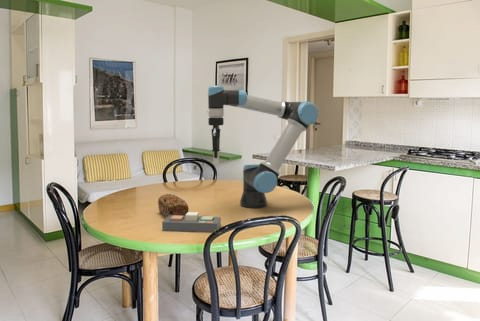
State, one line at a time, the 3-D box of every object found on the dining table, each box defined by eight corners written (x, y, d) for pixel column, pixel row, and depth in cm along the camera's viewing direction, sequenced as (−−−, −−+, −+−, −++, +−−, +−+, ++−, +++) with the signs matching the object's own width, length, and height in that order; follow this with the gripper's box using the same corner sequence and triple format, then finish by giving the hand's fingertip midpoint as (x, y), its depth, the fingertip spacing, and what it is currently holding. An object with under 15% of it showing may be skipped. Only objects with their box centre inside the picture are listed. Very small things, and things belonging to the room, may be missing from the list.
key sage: (213, 223, 188) (213, 216, 187) (211, 227, 183) (211, 219, 182) (202, 223, 188) (202, 216, 187) (200, 226, 183) (200, 219, 183)
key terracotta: (183, 222, 189) (183, 215, 188) (181, 226, 184) (181, 218, 183) (173, 222, 189) (173, 215, 189) (170, 225, 184) (170, 218, 184)
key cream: (198, 219, 188) (198, 212, 187) (196, 222, 183) (196, 215, 182) (187, 219, 188) (187, 212, 188) (185, 222, 183) (185, 215, 183)
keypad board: (220, 225, 190) (220, 216, 190) (217, 232, 180) (217, 223, 179) (168, 223, 193) (168, 214, 192) (162, 230, 182) (162, 221, 181)
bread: (157, 212, 212) (157, 194, 210) (177, 210, 216) (177, 192, 215) (168, 222, 195) (168, 202, 194) (189, 219, 200) (189, 199, 199)
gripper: (210, 116, 208) (210, 162, 211) (206, 117, 195) (206, 165, 198) (225, 116, 207) (225, 162, 210) (221, 117, 194) (221, 166, 198)
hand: (216, 164), depth 204 cm, fingers closed
